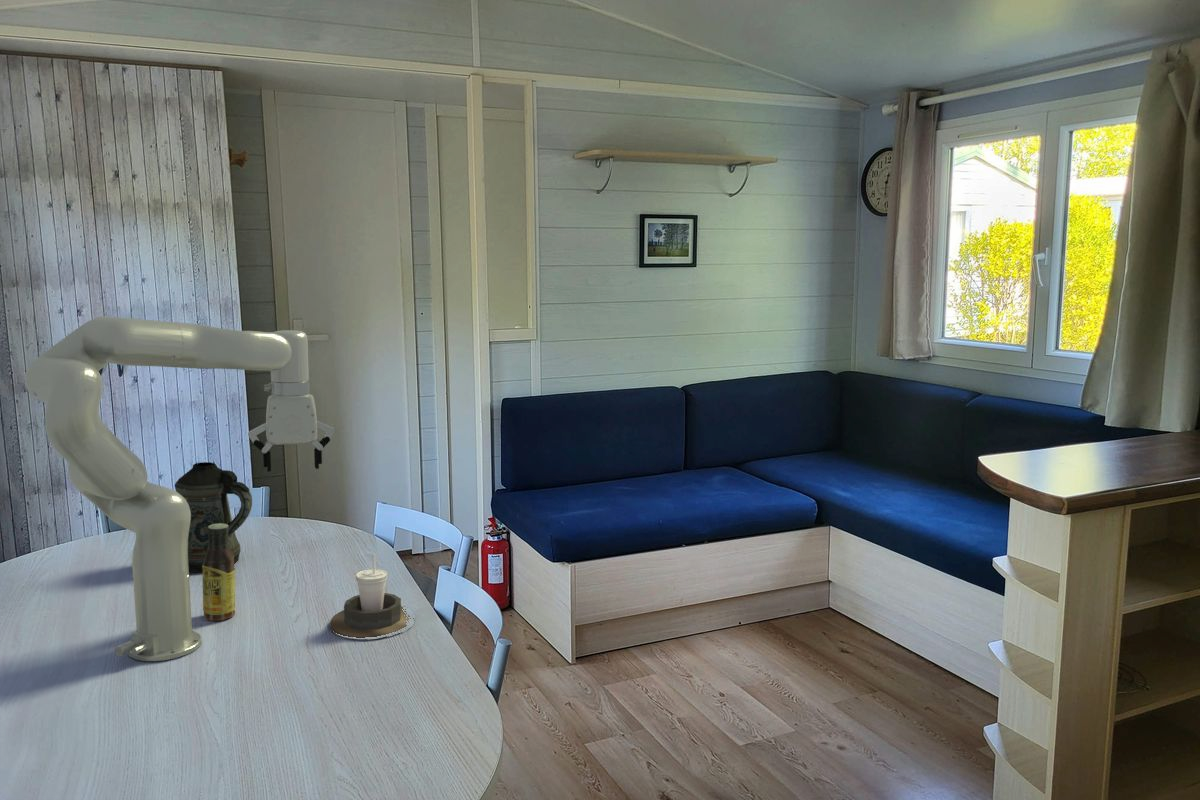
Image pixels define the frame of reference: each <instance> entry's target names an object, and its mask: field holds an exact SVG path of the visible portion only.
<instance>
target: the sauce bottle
mask: <svg viewBox="0 0 1200 800" xmlns="http://www.w3.org/2000/svg"><path fill="white" fill-rule="evenodd" d="M228 532H229V526H228V525H227V524H222V523H219V524H212V525H210V526H208V530H207V533H208V535H209V544H208V549H207V552H206V555H205V558H204V562H203V565H202V573H201V574H202V611H203V617H204V619H205V620H206V621H209V622H222V621H225V620H228V619H232V618H233V617H234V616H235V614H236V568H235V565H234V555H233V553H232V552H231V550H230V549H229V546H228Z"/></svg>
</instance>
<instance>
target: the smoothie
mask: <svg viewBox="0 0 1200 800" xmlns="http://www.w3.org/2000/svg"><path fill="white" fill-rule="evenodd" d="M371 555H372V569H371V568H370V569H364V570H361V571H359V572H357V573H356V574H355V581H356V582H357V587H358V593H359V594H358V595H360V601H361V608H362V611H377V610H382V609H383V601H384V593H386V590H385V589H386V583H387V582H386V581H387V579H388V572H387V571H385V570H384V569H378V568H377V569H376V553H372V554H371Z"/></svg>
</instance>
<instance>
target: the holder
mask: <svg viewBox="0 0 1200 800" xmlns="http://www.w3.org/2000/svg"><path fill="white" fill-rule="evenodd" d="M402 606H403V607H405V605H402V598H400V597H399V596H397V595H396V594H394V593H387V592H384V601H383V609H382V610H377V611H362V608H361V601H360V595H359V594H357V595H353V596H352V597H350V598H348V599H347V600H345V602H344V605H343V609H342V610H340V611H339V612H337V613H335V614H334V615H333V616H332V617H331V619H330V621H329V622H330V623H329V624H330V625H329V626H331V627H330V630H331V629H332V630H333V631H334V632H335V633H337V634H340V635H343V636H348V637H356V638H365V637H377V636H381V635H386V634H389V633H392V632H396V631H398V630H400V629H402V628H404V627H406V626H407V625H406V623H407V622H406V620H407V621H408V620H409V618H408V617H410V616H409V615H408V617H407V616H406V614H407V613H406V614H405V613H404V612H406V611H404V612H403V610H404V609H403V607H402ZM402 609H403V610H402ZM405 610H406V609H405ZM404 615H405V616H404ZM406 617H407V619H406ZM410 619H411V618H410ZM413 619H414V618H413ZM404 621H405V622H404ZM408 622H409V621H408Z"/></svg>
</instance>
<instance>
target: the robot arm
mask: <svg viewBox="0 0 1200 800" xmlns="http://www.w3.org/2000/svg"><path fill="white" fill-rule="evenodd" d="M308 340H309V339H308V335H307V334H306V333H305V332H304V331H302V330H296V329H295V330H294V329H291V330H290V329H289V330H288V329H286V330H285V329H283V330H276V331H273V332H272V331H270V332H269V331H267V332H266V331H261V330H260V331H259V330H258V331H255V330H238V329H228V328H220V327H215V326H210V325H204V324H198V323H191V322H190V323H189V322H179V321H177V322H176V321H166V320H165V321H164V320H154V319H153V320H150V319H141V318H133V317H132V318H131V317H130V318H129V317H128V318H127V317H120V316H119V317H116V316H109V315H107V316H106V315H102V316H97V317H94V318H91V319H89V320H88V321H86V322H84V323H83V324H82V325H80V326H79V327H77V328H76V329H74V330H73V331H72V332H70V333H68V334H67V335H66V336H65V337H64V338H62V339H61V340H59V341H58V342H57V343H55V344H54V345H52V346H51V347H50V348H48V349H47V350H46V351H44V352H42V354H40V355H39V356H38V357H36V358H35V359H34V360H33V361H32V362H31V364H29V366H28V367H27V370H26V372H25V375H24V384H25V388H26V391H28V393H29V394H30V395H31V396H32V397H33V398H34V399H36V400H37V401H39V402H42V403H45V404H46V407H45V413H44V414H45V417H44V427H45V433H46V436H47V439H48V441H49V443H50V444H51V446H52V447H53V449H55V450H56V452H57V453H58V455H60V456H61V457H62V458H63V459H64V460H65V461H66V462H67V464H68V465H67V471H68V477H69V479H70V481H71V483H72V485H73V486H74V487H75V488H76V489H77V490H78V491H79V492H80V493H81V495H83V496H84V497H85V498H86V499H88V501H89V502H90V503H92V504H93V505H94V506H95V507H96V508H97V509H99V510H100V511H101V512H102V513H103V514H104V515H105V516H107V518H108V519H110V520H111V521H112V522H114V524H116V525H117V526H120V527H121V528H123V529H126V530H129V531H131V532H133V533H135V542H134V544H133V549H132V554H131V556H132V558H131V562H132V563H131V564H132V565H131V568H132V579H133V597H134V612H135V627H136V630H134V631H133V632H131V638H130V639H128V641H127V642H124V643H122V644H119V645H118V646H115V648H114V654H115V655H116V656H117V657H123V656H125V655H126V654H128V655H129V657H130V658H132V659H133V660H136V661H141V662H162V661H169V660H173V659H177V658H180V657H183V656H186V655H188V654H190V653H193V652H194V651H196V650H197V649H198V648H200V646H201V644H202V636H201V634H199V632H197V631H194V630H193V626H192V625H193V624H192V607H191V587H190V573H189V566H188V535H189V528H190V521H191V512H190V508H189V505H188V503H187V501H186V500H185V499H184V497H183V496H181V495H180V494H179V493H177V492H176V490H174V489H172V488H169V487H165V486H162V485H158V484H155V483H152V482H150V481H148V471H147V469H146V466H145V464H144V463H143V461H142V460H141V459H140V458H139V456H137V454H135V453H134V452H133V451H132V450H131V449H130V448H129V447H127V446H126V445H125V444H124V443H123V442H122V441H121V440H120V439H119V438H118V437H117V436H116V435H115V434H114V433H113V432H112V431H111V430H110V429H109V427H108V426H107V425H106V424H105V423H104V421H103V420H102V418H101V415H100V404H101V399H102V396H103V391H104V382H103V377H102V375H101V374H100V372H99V371H101V370H102V369H103V368H104V367H105V366H107V364H114V365H121V366H131V367H132V366H134V367H157V368H158V367H159V368H160V367H161V368H180V369H181V368H182V369H183V368H184V369H195V370H196V369H198V370H209V369H210V370H212V369H220V370H222V369H224V370H240V371H241V370H243V371H265V372H270V381H271V382H269V383H268V384H264V385H263V390H264V392H269V393H271V395H269V396H267V401H266V402H267V403H266V411H265V412H266V413H265V415H266V416H265V418H266V420H265V423H262V424H261V425H259V426H257V427H255V428H253V429H251V430H249V431H248V433H247V435H248V437H249V439H250V440H251V442H252V444H253V445H254V446H255V447H256V448H257V449H258V450H260V452H261V453H262V454H263V455H262V457H263V461H262V462H263V468H267V471H266V472H267V473H269V472H271V471H272V460H271V459H272V458H271V451H270V450H271V448H272V447H273V446H274V445H278V446H280V445H298V444H300V445H301V444H312V445H313V446H314V449H313V451H314V452H313V453H314V456H313V457H314V468H315V469H316V470H317V469H318V470H319V469H320V465H322V464H323V454H322V453H323V452H322V450H323V449H324V448H325V447H326V446H327V445H328V444H329V443H330V441H331V440H332V437H333V436H334V433H335V428H334V427H332V426H331V425H328V424H326V423H323V422H321V421H319V420H317V419H318V418H317V409H316V402H315V398H314V395H313V394H310V381H309V380H310V372H309V342H308ZM318 429H320V430H321V431H324V432H326V433H325V435H324V436H323V438H322V439H320V440H319V439H318ZM265 431H266V432H265ZM263 432H265V434H266V441H265V442H264V443H263V442H262V441H261V440H260V439H259V438H258V435H260V434H262V433H263Z"/></svg>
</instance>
